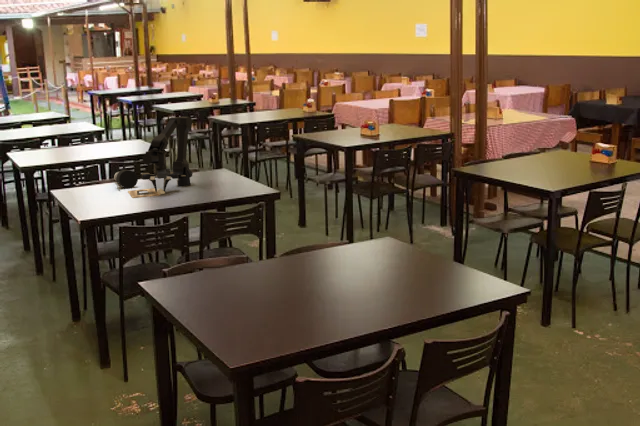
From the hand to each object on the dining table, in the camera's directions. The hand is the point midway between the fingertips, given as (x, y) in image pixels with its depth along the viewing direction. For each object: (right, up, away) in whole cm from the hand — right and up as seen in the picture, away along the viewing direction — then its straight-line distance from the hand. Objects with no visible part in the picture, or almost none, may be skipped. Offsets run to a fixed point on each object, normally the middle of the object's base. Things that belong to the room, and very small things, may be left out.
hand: (160, 191), depth 368 cm
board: (-8, -2, 0) cm, 9 cm away
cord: (0, 0, +1) cm, 1 cm away
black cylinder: (-29, +5, +33) cm, 44 cm away
